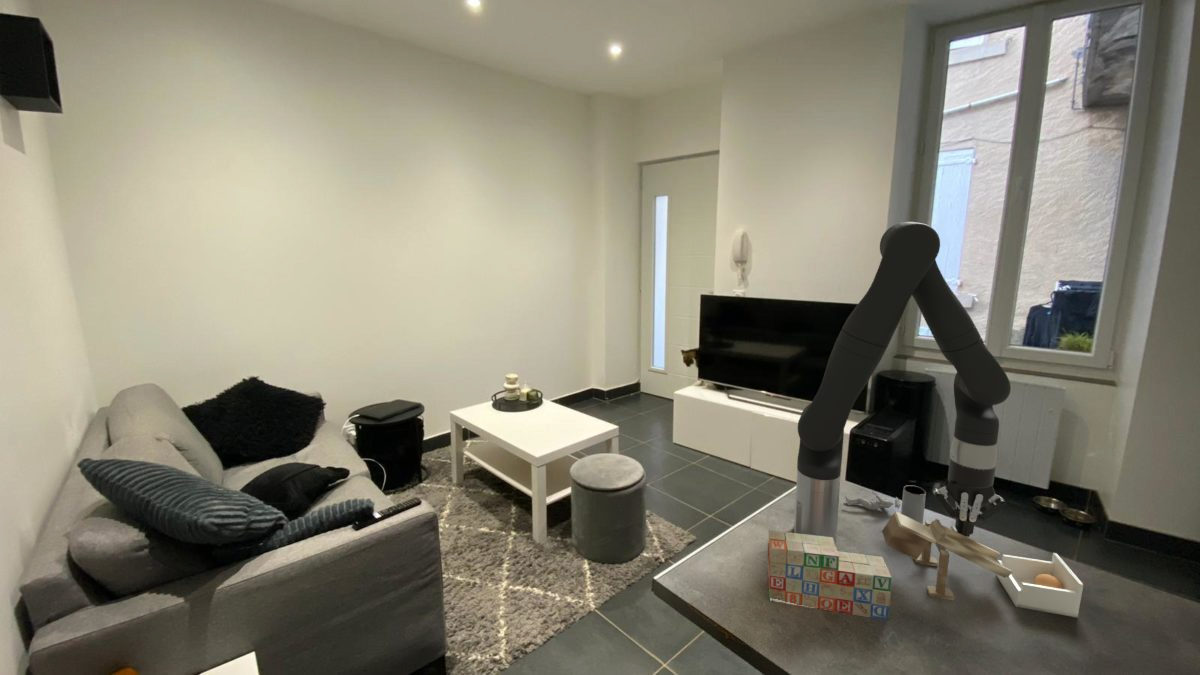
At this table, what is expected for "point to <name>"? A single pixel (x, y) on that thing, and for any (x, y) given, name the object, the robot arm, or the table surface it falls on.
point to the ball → (1047, 581)
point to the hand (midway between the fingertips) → (963, 534)
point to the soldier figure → (873, 502)
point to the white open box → (1042, 596)
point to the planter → (913, 502)
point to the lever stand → (942, 571)
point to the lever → (938, 542)
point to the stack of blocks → (826, 576)
